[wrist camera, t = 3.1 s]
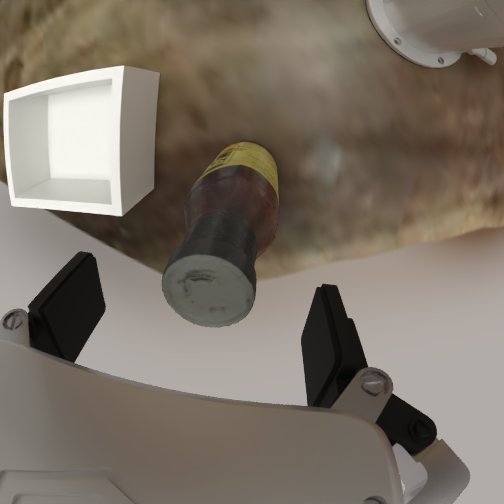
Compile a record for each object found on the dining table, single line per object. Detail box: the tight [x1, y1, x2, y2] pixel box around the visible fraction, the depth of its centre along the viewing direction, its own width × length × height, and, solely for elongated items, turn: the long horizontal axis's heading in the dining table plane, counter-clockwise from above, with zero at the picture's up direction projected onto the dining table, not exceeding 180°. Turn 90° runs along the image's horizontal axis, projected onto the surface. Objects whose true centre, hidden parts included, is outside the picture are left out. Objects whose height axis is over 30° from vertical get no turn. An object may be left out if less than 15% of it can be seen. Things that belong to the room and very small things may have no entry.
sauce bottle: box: [162, 141, 279, 327], centre depth 20 cm, size 6×6×20 cm
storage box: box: [4, 66, 160, 216], centre depth 23 cm, size 16×13×8 cm
